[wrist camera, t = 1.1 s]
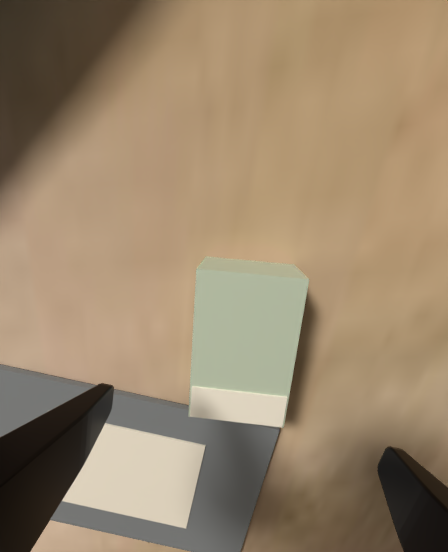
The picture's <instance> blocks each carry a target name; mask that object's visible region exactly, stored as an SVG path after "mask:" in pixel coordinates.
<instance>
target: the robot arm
mask: <svg viewBox="0 0 448 552" xmlns="http://www.w3.org/2000/svg"><path fill="white" fill-rule="evenodd" d="M113 395H114V387H113V386H112V385H109V384H104V383H101V384H98V385H96V386H95V387H93V388H91V389H89V390H87V391H85V392H83V393H82V394H80V395H78V396H76V397H74V398H72V399H70V400H69V401H67V402H65V403H63V404H61V405H59V406H57V407H55V408H54V409H52V410H50V411H48V412H46V413H44V414H42V415H41V416H39V417H37V418H35V419H33V420H31V421H29V422H28V423H26V424H24V425H22V426H20V427H18V428H16V429H15V430H13V431H11V432H9V433H7V434H5V435H3V436H1V437H0V552H30V551H31V550H32V548H33V546H34V545H35V543H36V542H37V540H38V538H39V537H40V535H41V534H42V532H43V530H44V529H45V527H46V525H47V524H48V522H49V521H50V519H51V517H52V516H53V514H54V513H55V511H56V509H57V508H58V506H59V505H60V503H61V501H62V500H63V498H64V497H65V495H66V493H67V492H68V490H69V489H70V487H71V485H72V484H73V482H74V481H75V479H76V477H77V476H78V474H79V472H80V471H81V469H82V467H83V466H84V464H85V462H86V460H87V458H88V456H89V454H90V452H91V450H92V448H93V446H94V444H95V442H96V440H97V438H98V436H99V434H100V433H101V431H102V429H103V427H104V425H105V423H106V421H107V419H108V417H109V415H110V412H111V409H112V404H113ZM378 475H379V478H380V481H381V485H382V488H383V491H384V494H385V497H386V501H387V504H388V507H389V510H390V513H391V516H392V520H393V523H394V526H395V529H396V532H397V535H398V537H399V540H400V543H401V545H402V548H403V550H404V552H448V488H447V487H446V486H445V485H444V484H443V483H441V482H440V481H439V480H438V479H437V478H436V477H434V476H433V475H432V474H431V473H430V472H428V471H427V470H426V469H425V468H424V467H422V466H421V465H420V464H419V463H418V462H417V461H415V460H414V459H413V458H412V457H411V456H409V455H408V454H407V453H406V452H405V451H403V450H402V449H399V448H395V447H387V448H386V449H385V451H384V453H383V455H382V457H381V459H380V462H379V464H378Z"/></svg>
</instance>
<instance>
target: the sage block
mask: <svg viewBox="0 0 448 552" xmlns="http://www.w3.org/2000/svg"><path fill="white" fill-rule="evenodd" d="M308 284H309V279H308V278H307V277H306V276H305V275H304V274H303V273H302V272H301V271H300V270H299V269H298V268H297V267H296V266H295V265H294V264H283V263H272V262H261V261H250V260H239V259H228V258H218V257H207V256H206V257H205V258H204V260H203V261H202V262H201V264H200V265H199V266H198V267H197V269H196V286H195V304H194V323H193V341H192V359H191V377H190V395H189V413H188V417H197V418H205V419H214V420H222V421H231V422H240V423H248V424H257V425H265V426H274V427H282V428H284V423H285V417H286V411H287V405H288V400H289V394H290V388H291V382H292V376H293V371H294V365H295V359H296V353H297V347H298V342H299V336H300V330H301V324H302V318H303V313H304V307H305V301H306V295H307V289H308Z"/></svg>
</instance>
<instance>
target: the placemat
mask: <svg viewBox="0 0 448 552" xmlns="http://www.w3.org/2000/svg"><path fill="white" fill-rule="evenodd" d="M95 386H96V385H93V384H88V383H84V382H79V381H74V380H70V379H65V378H61V377H56V376H52V375H47V374H42V373H38V372H33V371H29V370H24V369H20V368H15V367H10V366H6V365H1V364H0V437H1V436H3V435H5V434H7V433H9V432H11V431H13V430H15V429H16V428H18V427H20V426H22V425H24V424H26V423H28V422H29V421H31V420H33V419H35V418H37V417H39V416H41V415H42V414H44V413H46V412H48V411H50V410H52V409H54V408H55V407H57V406H59V405H61V404H63V403H65V402H67V401H69V400H70V399H72V398H74V397H76V396H78V395H80V394H82V393H83V392H85V391H87V390H89V389H91V388H93V387H95ZM188 413H189V405H184V404H180V403H175V402H170V401H166V400H161V399H157V398H152V397H148V396H143V395H138V394H134V393H129V392H125V391H120V390H116V389H114V395H113V404H112V409H111V412H110V415H109V417H108V419H107V421H106V423H105V425H104V427H103V429H102V431H101V433H100V434H99V436H98V438H97V440H96V442H95V444H94V446H93V448H92V450H91V452H90V454H89V456H88V458H87V460H86V462H85V464H84V466H83V467H82V469H81V471H80V472H79V474H78V476H77V477H76V479H75V481H74V482H73V484H72V485H71V487H70V489H69V490H68V492H67V493H66V495H65V497H64V498H63V500H62V501H61V503H60V505H59V506H58V508H57V509H56V511H55V513H54V514H53V516H52V517H51V519H50V520H53V521H57V522H62V523H66V524H71V525H75V526H80V527H84V528H88V529H93V530H97V531H102V532H106V533H111V534H115V535H120V536H124V537H129V538H133V539H138V540H142V541H147V542H151V543H156V544H160V545H165V546H169V547H173V548H178V549H182V550H187V551H191V552H241V548H242V545H243V542H244V539H245V536H246V533H247V530H248V527H249V524H250V521H251V518H252V514H253V511H254V508H255V505H256V502H257V499H258V496H259V493H260V490H261V487H262V483H263V480H264V477H265V474H266V471H267V468H268V465H269V462H270V459H271V456H272V453H273V449H274V446H275V443H276V440H277V437H278V434H279V431H280V429H279V427H274V426H265V425H257V424H248V423H240V422H231V421H222V420H214V419H205V418H197V417H188Z"/></svg>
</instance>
